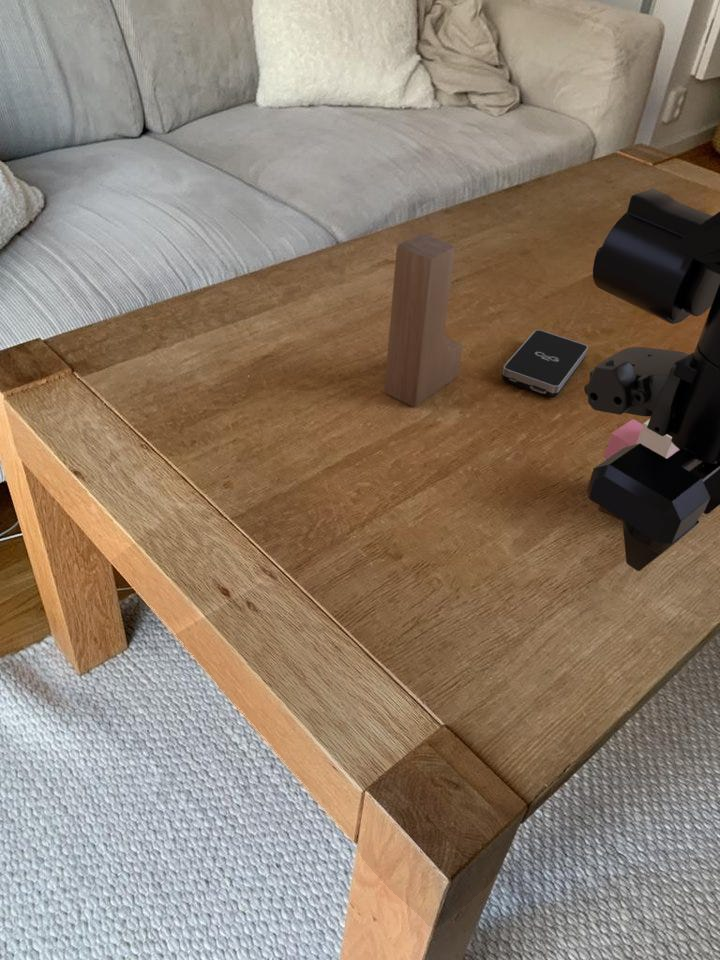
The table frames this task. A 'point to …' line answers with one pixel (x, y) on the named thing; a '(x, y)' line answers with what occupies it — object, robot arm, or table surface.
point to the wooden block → (421, 321)
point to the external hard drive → (544, 363)
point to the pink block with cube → (639, 439)
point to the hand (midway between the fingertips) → (669, 537)
